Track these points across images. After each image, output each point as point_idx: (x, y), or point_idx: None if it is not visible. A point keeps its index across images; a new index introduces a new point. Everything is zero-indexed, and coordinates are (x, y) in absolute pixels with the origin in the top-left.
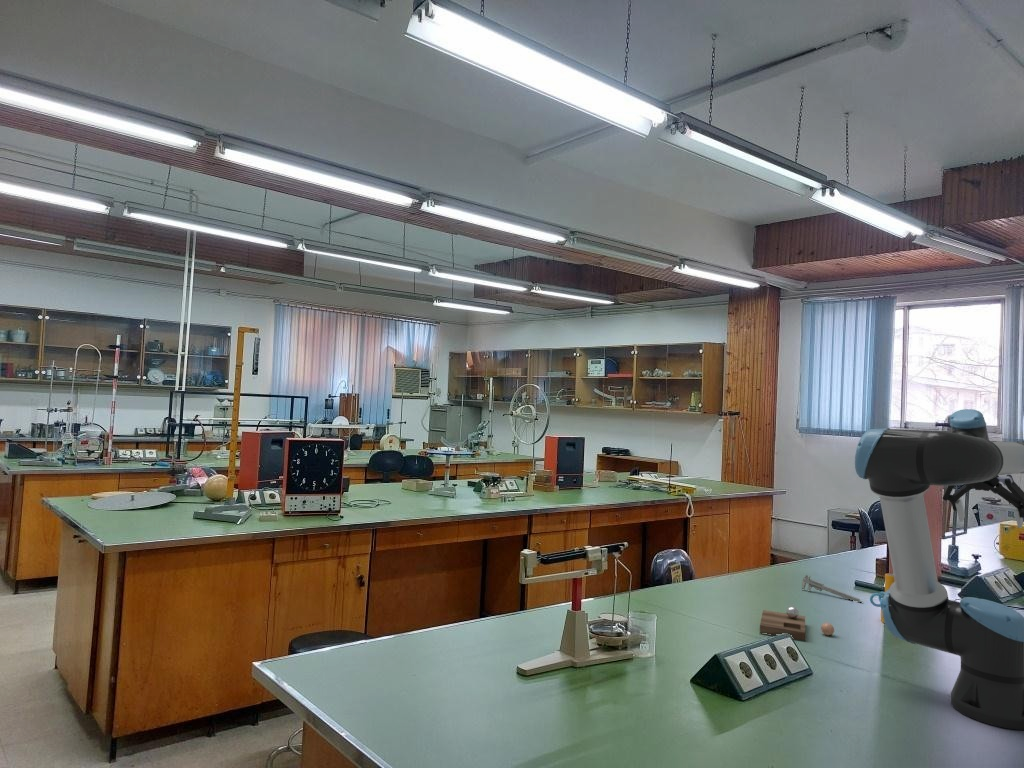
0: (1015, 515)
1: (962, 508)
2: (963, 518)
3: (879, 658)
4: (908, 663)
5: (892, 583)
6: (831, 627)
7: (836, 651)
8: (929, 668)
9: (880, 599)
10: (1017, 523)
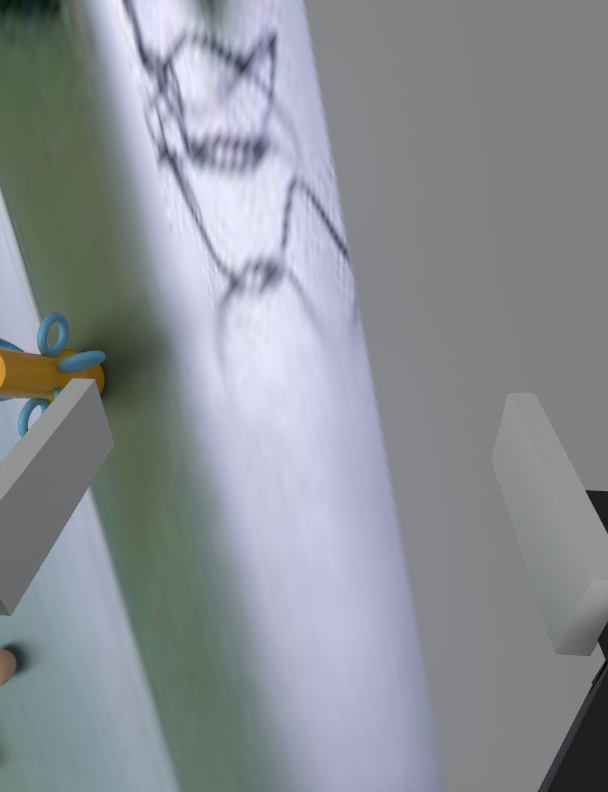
0: (530, 575)
1: (51, 459)
2: (103, 426)
3: (158, 733)
4: (215, 709)
5: (6, 395)
6: (3, 679)
7: (72, 772)
8: (258, 703)
9: (4, 347)
10: (506, 498)
